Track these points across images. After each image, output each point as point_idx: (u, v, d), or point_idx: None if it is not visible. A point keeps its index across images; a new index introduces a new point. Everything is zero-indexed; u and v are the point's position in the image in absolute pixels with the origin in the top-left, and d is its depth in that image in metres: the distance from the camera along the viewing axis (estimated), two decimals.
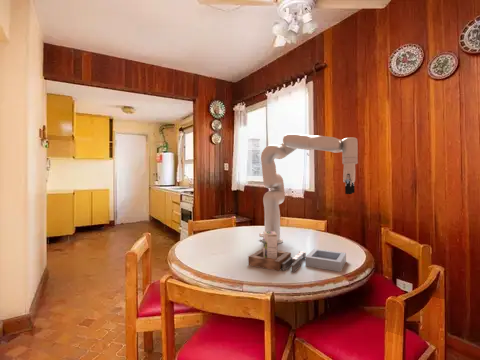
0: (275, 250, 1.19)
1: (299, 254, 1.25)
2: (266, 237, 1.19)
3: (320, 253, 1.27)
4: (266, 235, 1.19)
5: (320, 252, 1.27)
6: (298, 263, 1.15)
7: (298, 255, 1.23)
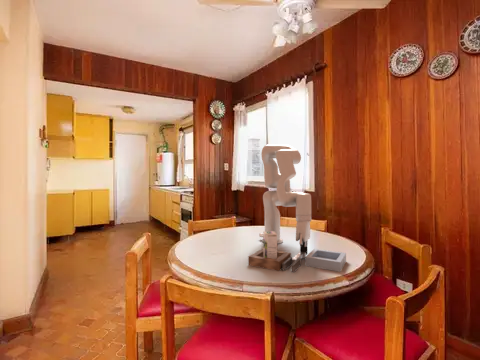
0: (275, 250, 1.19)
1: (299, 254, 1.24)
2: (266, 237, 1.19)
3: (320, 253, 1.27)
4: (266, 235, 1.19)
5: (320, 252, 1.27)
6: (298, 263, 1.15)
7: (298, 255, 1.23)
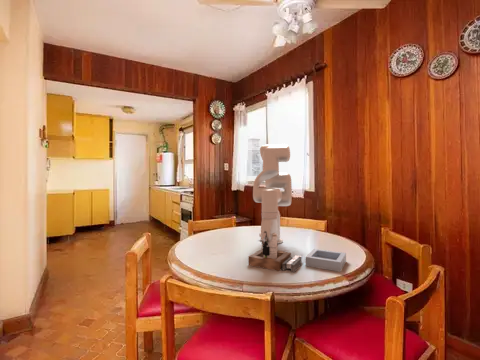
0: (275, 250, 1.19)
1: (294, 258, 1.19)
2: (266, 237, 1.19)
3: (320, 253, 1.27)
4: None
5: (320, 252, 1.27)
6: (298, 263, 1.15)
7: (293, 259, 1.17)
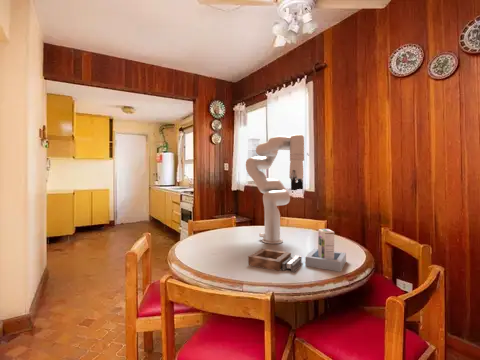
0: (332, 248, 1.18)
1: (294, 258, 1.19)
2: (323, 235, 1.18)
3: None
4: (323, 233, 1.18)
5: None
6: (298, 263, 1.15)
7: (293, 259, 1.17)
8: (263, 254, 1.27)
